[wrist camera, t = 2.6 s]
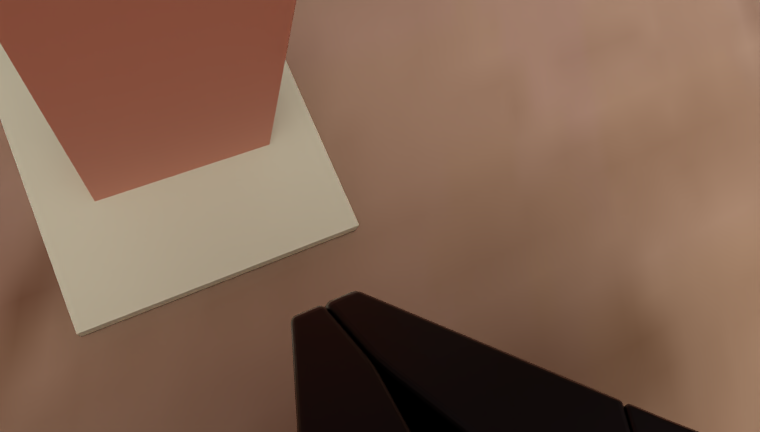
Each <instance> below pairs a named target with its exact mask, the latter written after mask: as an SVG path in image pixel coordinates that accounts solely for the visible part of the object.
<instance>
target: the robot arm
mask: <svg viewBox="0 0 760 432" xmlns="http://www.w3.org/2000/svg"><path fill="white" fill-rule="evenodd" d="M291 330H292V347H293V364H294V382H295V399H296V416H297V432H698V431H695V430H693V429H690V428H688V427H685V426H682V425H680V424H677V423H675V422H672V421H670V420H667V419H665V418H662V417H660V416H657V415H655V414H653V413H650V412H648V411H645V410H643V409H641V408H638V407H636V406H633V405H631V404H627V405H625V406H623V403H622V402H621V401H620V400H618V399H616V398H613V397H611V396H609V395H606V394H604V393H602V392H599V391H597V390H594V389H592V388H590V387H587V386H585V385H582V384H580V383H578V382H575V381H573V380H570V379H568V378H566V377H563V376H561V375H558V374H556V373H554V372H551V371H549V370H546V369H544V368H542V367H539V366H537V365H534V364H532V363H530V362H527V361H525V360H522V359H520V358H518V357H515V356H513V355H510V354H508V353H506V352H503V351H501V350H498V349H496V348H494V347H491V346H489V345H486V344H484V343H482V342H479V341H477V340H474V339H472V338H470V337H467V336H465V335H462V334H460V333H458V332H455V331H453V330H450V329H448V328H446V327H443V326H441V325H438V324H436V323H434V322H431V321H429V320H427V319H424V318H422V317H419V316H417V315H415V314H412V313H410V312H407V311H405V310H403V309H400V308H398V307H395V306H393V305H391V304H388V303H386V302H383V301H381V300H379V299H376V298H374V297H371V296H369V295H367V294H364V293H362V292H357V291H354V292H350V293H348V294H346V295H343V296H341V297H339V298H336V299H334V300H331V301H329V302H328V303H327V305H326V308H325V307H323V306H317V307H315V308H312V309H310V310H308V311H305V312H303V313H301V314H298V315H296V316H294V317H293V318H292V321H291Z"/></svg>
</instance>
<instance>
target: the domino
mask: <svg viewBox="0 0 760 432" xmlns="http://www.w3.org/2000/svg"><path fill="white" fill-rule="evenodd" d="M295 5H296V0H0V43H1V45H2V47H3V48H4V50H5V52H6V53H7V55H8V57H9V58H10V60H11V62H12V64H13V65H14V67H15V69H16V70H17V72H18V74H19V75H20V77H21V79H22V80H23V82H24V84H25V85H26V87H27V89H28V90H29V92H30V94H31V95H32V97H33V99H34V100H35V102H36V104H37V105H38V107H39V109H40V110H41V112H42V114H43V115H44V117H45V119H46V120H47V122H48V124H49V125H50V127H51V129H52V130H53V132H54V134H55V136H56V137H57V139H58V141H59V142H60V144H61V146H62V147H63V149H64V151H65V152H66V154H67V156H68V157H69V159H70V161H71V162H72V164H73V166H74V167H75V169H76V171H77V172H78V174H79V176H80V177H81V179H82V181H83V182H84V184H85V186H86V187H87V189H88V191H89V192H90V194H91V196H92V197H93V199H94V201H98V200H101V199H104V198H107V197H110V196H113V195H116V194H119V193H123V192H126V191H129V190H132V189H135V188H138V187H141V186H144V185H147V184H150V183H153V182H156V181H159V180H162V179H165V178H168V177H172V176H175V175H178V174H181V173H184V172H187V171H190V170H193V169H196V168H199V167H202V166H205V165H208V164H211V163H214V162H217V161H221V160H224V159H227V158H230V157H233V156H236V155H239V154H242V153H245V152H248V151H251V150H254V149H257V148H260V147H263V146H266V145H269V144H270V139H271V134H272V128H273V123H274V117H275V112H276V107H277V101H278V96H279V91H280V85H281V80H282V74H283V69H284V64H285V58H286V53H287V48H288V42H289V37H290V31H291V26H292V21H293V15H294V10H295Z"/></svg>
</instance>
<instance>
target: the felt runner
mask: <svg viewBox="0 0 760 432" xmlns="http://www.w3.org/2000/svg"><path fill="white" fill-rule="evenodd" d="M0 119H1V122H2V125H3V128H4V131H5V134H6V136H7V139H8V142H9V145H10V148H11V151H12V153H13V156H14V159H15V162H16V165H17V167H18V170H19V173H20V176H21V179H22V182H23V184H24V187H25V190H26V193H27V196H28V198H29V201H30V204H31V207H32V210H33V213H34V215H35V218H36V221H37V224H38V227H39V230H40V232H41V235H42V238H43V241H44V244H45V246H46V249H47V252H48V255H49V258H50V261H51V263H52V266H53V269H54V272H55V275H56V278H57V280H58V283H59V286H60V289H61V292H62V294H63V297H64V300H65V303H66V306H67V309H68V311H69V314H70V317H71V320H72V323H73V325H74V328H75V331H76V334H77V335H79V336H81V337H82V336H84V335H87V334H89V333H92V332H94V331H97V330H100V329H102V328H105V327H107V326H110V325H112V324H115V323H118V322H120V321H123V320H125V319H128V318H130V317H133V316H136V315H138V314H141V313H143V312H146V311H148V310H151V309H154V308H156V307H159V306H161V305H164V304H167V303H169V302H172V301H174V300H177V299H179V298H182V297H185V296H187V295H190V294H192V293H195V292H197V291H200V290H203V289H205V288H208V287H210V286H213V285H215V284H218V283H221V282H223V281H226V280H228V279H231V278H233V277H236V276H239V275H241V274H244V273H246V272H249V271H251V270H254V269H257V268H259V267H262V266H264V265H267V264H270V263H272V262H275V261H277V260H280V259H282V258H285V257H288V256H290V255H293V254H295V253H298V252H300V251H303V250H306V249H308V248H311V247H313V246H316V245H318V244H321V243H324V242H326V241H329V240H331V239H334V238H336V237H339V236H342V235H344V234H347V233H349V232H352V231H354V230H356V228H357V227H358V226H359V224H358V221H357V219H356V217H355V215H354V212H353V210H352V208H351V206H350V203H349V201H348V199H347V197H346V194H345V192H344V190H343V188H342V185H341V183H340V181H339V179H338V177H337V174H336V172H335V170H334V168H333V165H332V163H331V161H330V159H329V156H328V154H327V152H326V150H325V147H324V145H323V143H322V141H321V138H320V136H319V134H318V132H317V129H316V127H315V125H314V123H313V120H312V118H311V116H310V114H309V111H308V109H307V107H306V105H305V103H304V100H303V98H302V96H301V94H300V91H299V89H298V87H297V85H296V82H295V80H294V78H293V76H292V73H291V71H290V69H289V67H288V64H287V62H286V60H285V64H284V69H283V74H282V80H281V85H280V91H279V96H278V101H277V107H276V112H275V117H274V123H273V128H272V134H271V139H270V144H269V145H266V146H263V147H260V148H257V149H254V150H251V151H248V152H245V153H242V154H239V155H236V156H233V157H230V158H227V159H224V160H221V161H217V162H214V163H211V164H208V165H205V166H202V167H199V168H196V169H193V170H190V171H187V172H184V173H181V174H178V175H175V176H172V177H168V178H165V179H162V180H159V181H156V182H153V183H150V184H147V185H144V186H141V187H138V188H135V189H132V190H129V191H126V192H123V193H119V194H116V195H113V196H110V197H107V198H104V199H101V200H98V201H94V199H93V197H92V196H91V194H90V192H89V191H88V189H87V187H86V186H85V184H84V182H83V181H82V179H81V177H80V176H79V174H78V172H77V171H76V169H75V167H74V166H73V164H72V162H71V161H70V159H69V157H68V156H67V154H66V152H65V151H64V149H63V147H62V146H61V144H60V142H59V141H58V139H57V137H56V136H55V134H54V132H53V130H52V129H51V127H50V125H49V124H48V122H47V120H46V119H45V117H44V115H43V114H42V112H41V110H40V109H39V107H38V105H37V104H36V102H35V100H34V99H33V97H32V95H31V94H30V92H29V90H28V89H27V87H26V85H25V84H24V82H23V80H22V79H21V77H20V75H19V74H18V72H17V70H16V69H15V67H14V65H13V64H12V62H11V60H10V58H9V57H8V55H7V53H6V52H5V50H4V48H3V47H2V45H1V43H0Z"/></svg>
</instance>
